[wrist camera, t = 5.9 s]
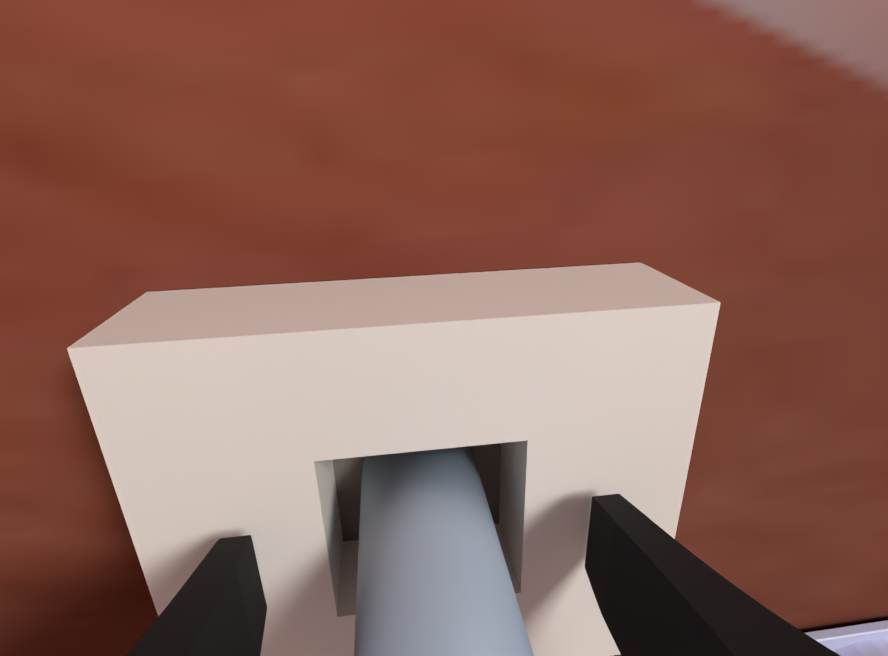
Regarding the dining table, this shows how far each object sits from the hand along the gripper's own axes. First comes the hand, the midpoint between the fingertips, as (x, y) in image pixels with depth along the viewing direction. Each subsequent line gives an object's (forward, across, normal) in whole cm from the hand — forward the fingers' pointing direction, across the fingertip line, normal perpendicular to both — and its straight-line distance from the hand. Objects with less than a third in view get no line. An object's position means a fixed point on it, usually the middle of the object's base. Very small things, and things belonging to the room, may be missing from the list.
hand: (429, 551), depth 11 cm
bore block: (+4, 0, 0) cm, 4 cm away
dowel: (+3, 0, 0) cm, 3 cm away
